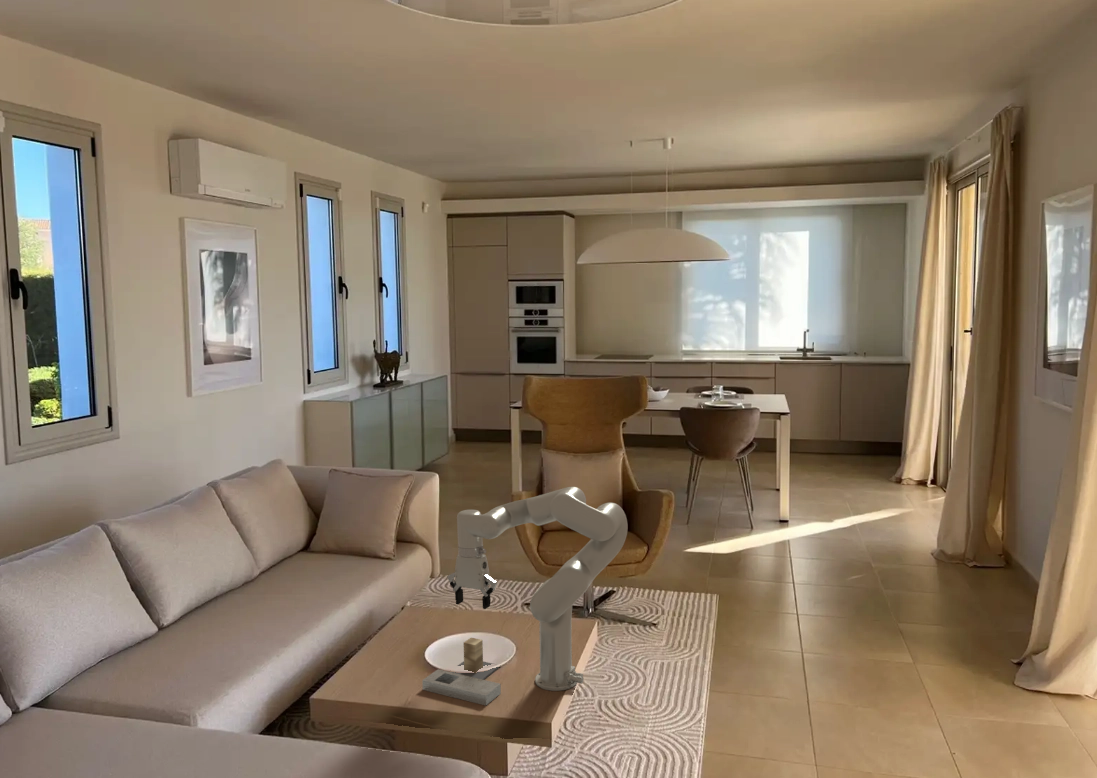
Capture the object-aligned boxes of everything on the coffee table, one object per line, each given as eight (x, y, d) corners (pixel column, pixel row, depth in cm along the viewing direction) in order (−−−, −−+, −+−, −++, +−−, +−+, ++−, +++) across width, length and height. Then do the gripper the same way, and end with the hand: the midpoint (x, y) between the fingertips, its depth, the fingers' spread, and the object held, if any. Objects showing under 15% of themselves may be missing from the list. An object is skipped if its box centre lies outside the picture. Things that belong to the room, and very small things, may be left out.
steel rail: (500, 693, 245) (500, 683, 244) (486, 705, 238) (486, 695, 237) (438, 678, 255) (438, 669, 255) (422, 689, 248) (422, 680, 248)
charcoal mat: (500, 667, 262) (500, 665, 262) (480, 683, 252) (479, 681, 251) (468, 659, 268) (468, 658, 268) (446, 675, 257) (446, 673, 257)
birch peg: (483, 667, 260) (482, 639, 259) (475, 673, 257) (475, 645, 256) (471, 665, 262) (471, 637, 261) (464, 670, 259) (463, 642, 258)
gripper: (501, 550, 255) (503, 605, 256) (453, 544, 263) (456, 597, 264) (488, 557, 248) (490, 613, 250) (440, 551, 256) (442, 605, 258)
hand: (472, 605), depth 257 cm, fingers open, 9 cm apart
